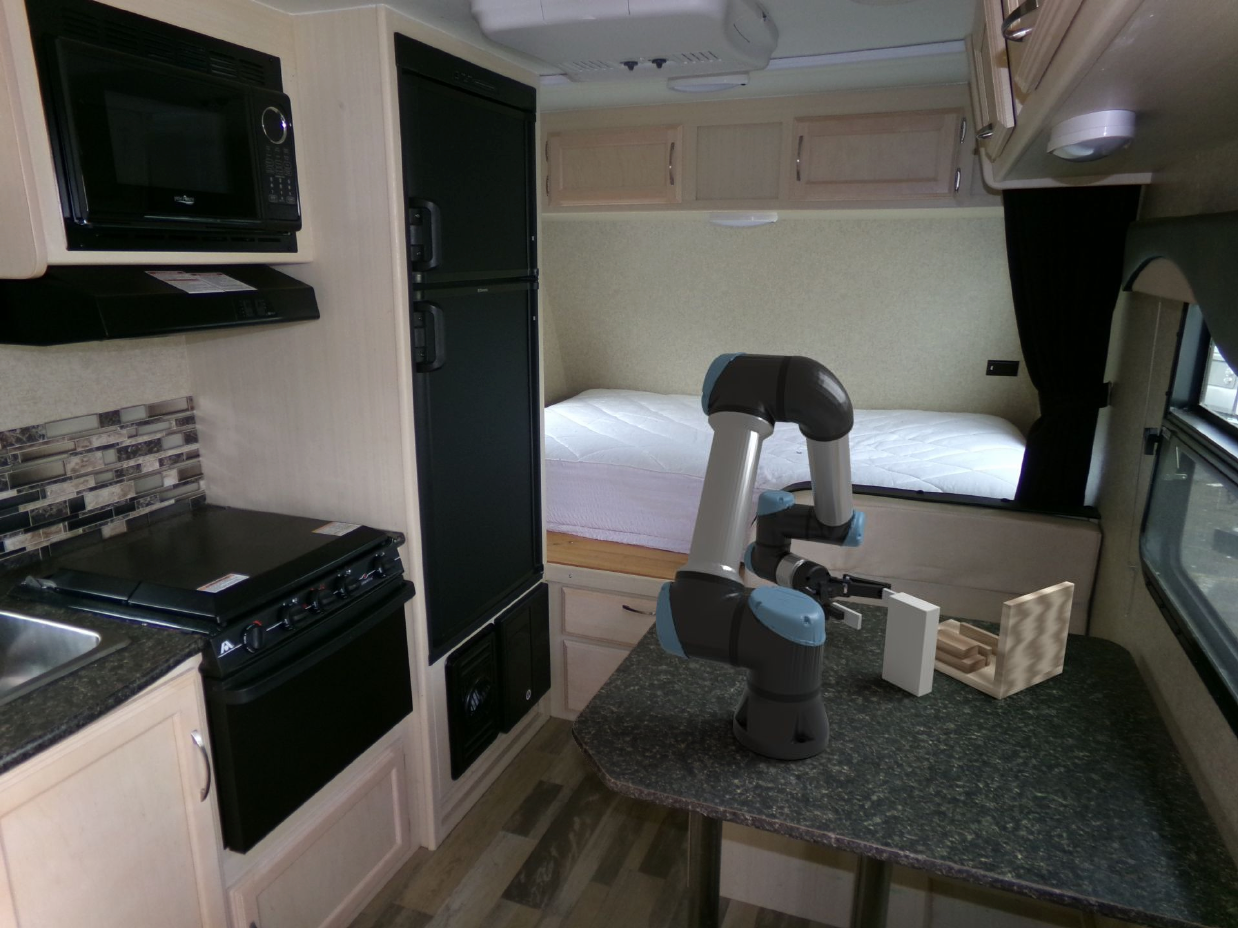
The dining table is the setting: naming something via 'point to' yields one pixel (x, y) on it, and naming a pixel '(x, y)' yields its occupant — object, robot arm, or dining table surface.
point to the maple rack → (1018, 642)
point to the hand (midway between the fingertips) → (886, 614)
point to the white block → (910, 643)
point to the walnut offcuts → (958, 652)
